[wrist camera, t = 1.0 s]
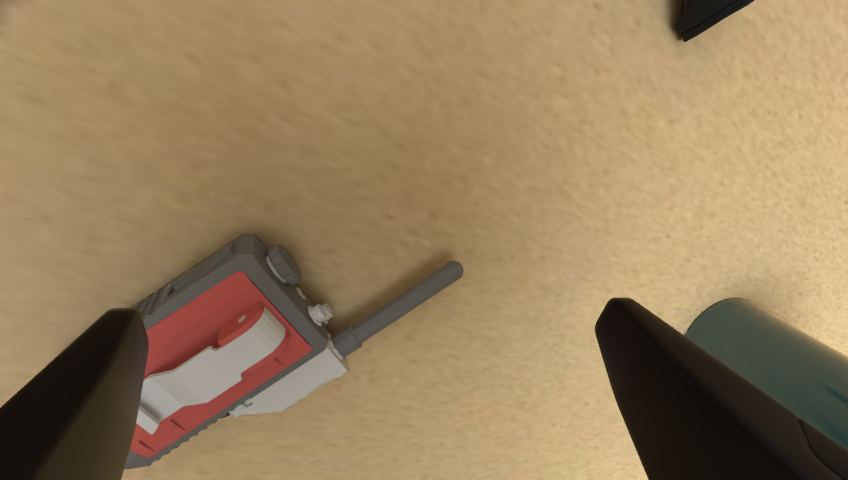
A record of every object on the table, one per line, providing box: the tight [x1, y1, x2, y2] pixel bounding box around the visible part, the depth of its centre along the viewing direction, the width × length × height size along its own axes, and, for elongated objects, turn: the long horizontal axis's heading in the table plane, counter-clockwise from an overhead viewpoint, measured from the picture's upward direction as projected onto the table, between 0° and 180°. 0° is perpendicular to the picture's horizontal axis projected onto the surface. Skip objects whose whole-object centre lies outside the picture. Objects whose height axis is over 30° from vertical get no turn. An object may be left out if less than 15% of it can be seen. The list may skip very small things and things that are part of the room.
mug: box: [685, 298, 848, 450], centre depth 31 cm, size 10×7×13 cm
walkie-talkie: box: [124, 234, 463, 469], centre depth 23 cm, size 9×4×20 cm
